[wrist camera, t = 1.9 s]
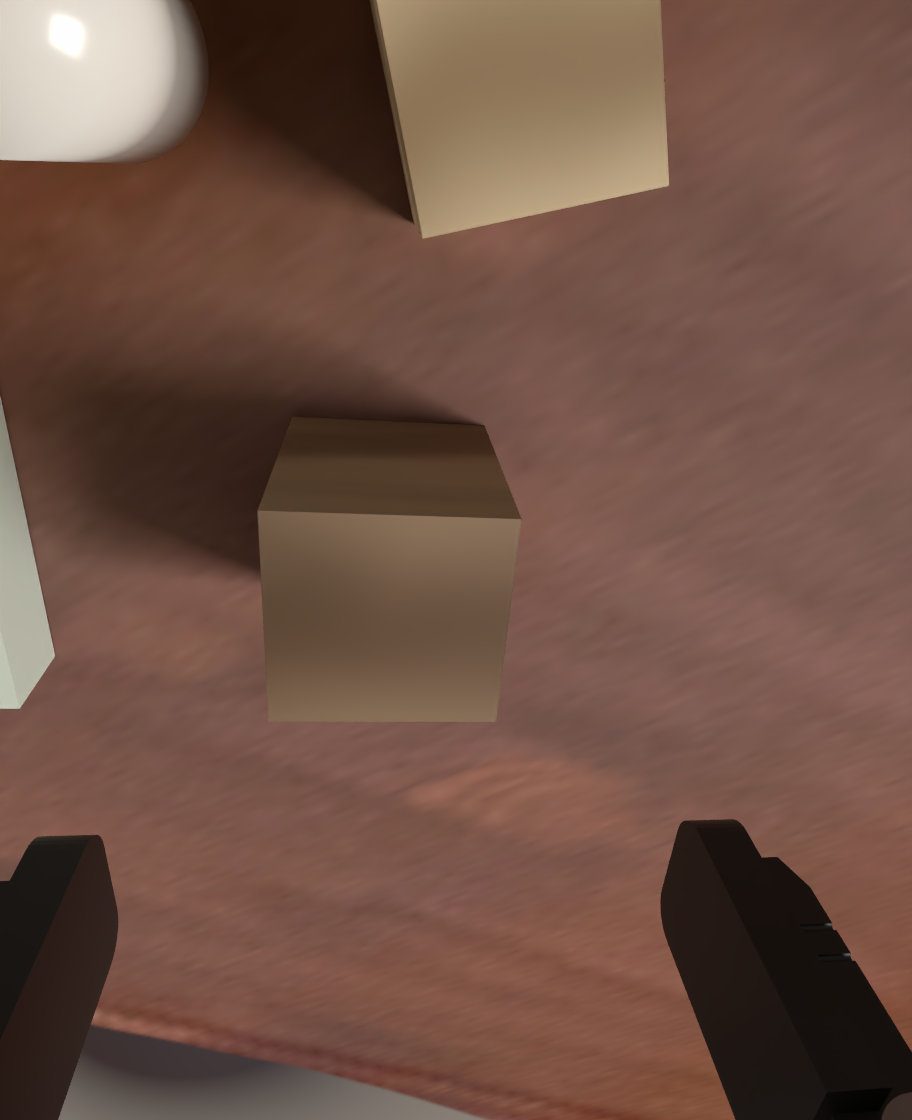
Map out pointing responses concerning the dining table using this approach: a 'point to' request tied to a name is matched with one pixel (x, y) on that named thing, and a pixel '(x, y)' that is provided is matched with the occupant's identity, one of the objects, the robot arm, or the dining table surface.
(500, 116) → the oak cube
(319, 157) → the dining table surface
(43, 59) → the ceramic shaker
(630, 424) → the dining table surface
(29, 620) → the tray
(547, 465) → the dining table surface
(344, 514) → the walnut block
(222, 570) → the dining table surface
